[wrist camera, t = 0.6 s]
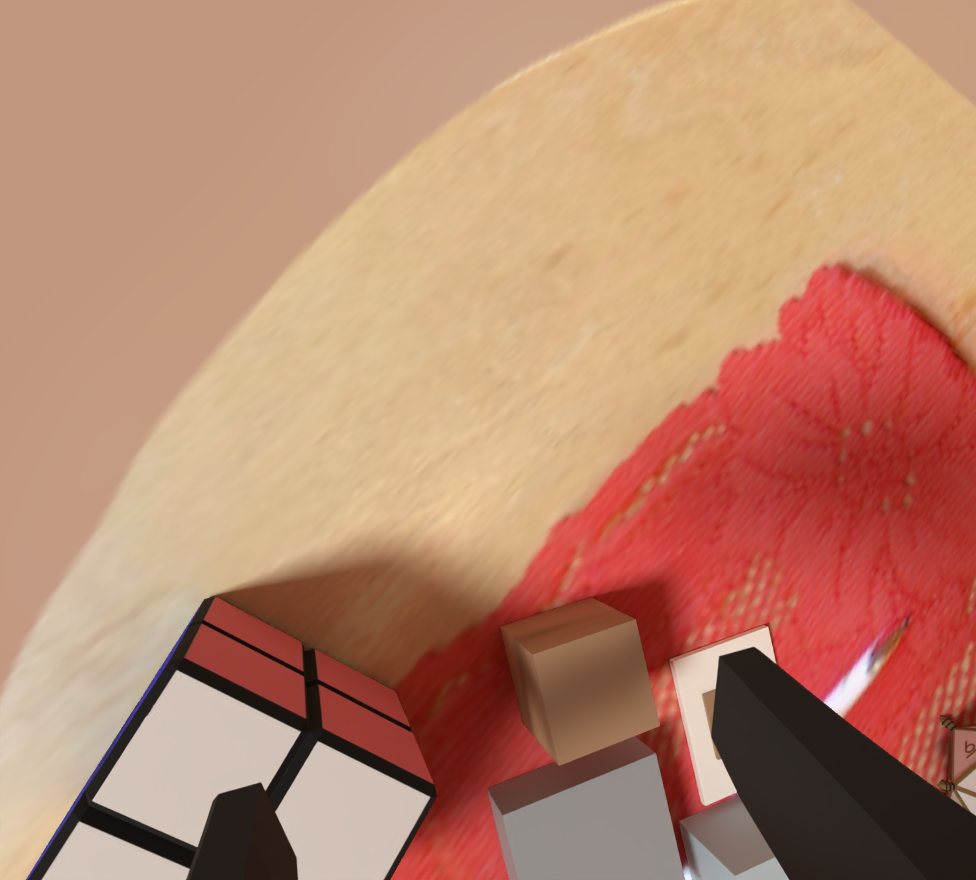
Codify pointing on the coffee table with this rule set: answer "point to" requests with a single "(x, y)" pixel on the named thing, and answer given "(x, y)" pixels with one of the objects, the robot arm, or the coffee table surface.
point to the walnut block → (580, 678)
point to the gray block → (727, 845)
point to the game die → (961, 765)
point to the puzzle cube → (249, 761)
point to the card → (709, 706)
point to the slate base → (589, 819)
